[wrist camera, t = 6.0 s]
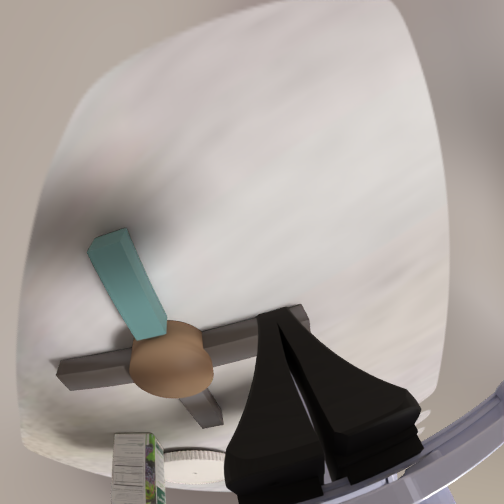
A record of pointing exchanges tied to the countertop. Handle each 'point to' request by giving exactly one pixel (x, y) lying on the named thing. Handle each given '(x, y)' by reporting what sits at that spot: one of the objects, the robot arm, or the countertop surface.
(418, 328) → the countertop surface
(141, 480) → the syrup box
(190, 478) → the plastic lid
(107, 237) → the teal rectangular block
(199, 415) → the grey brown t-shaped piece
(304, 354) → the robot arm
